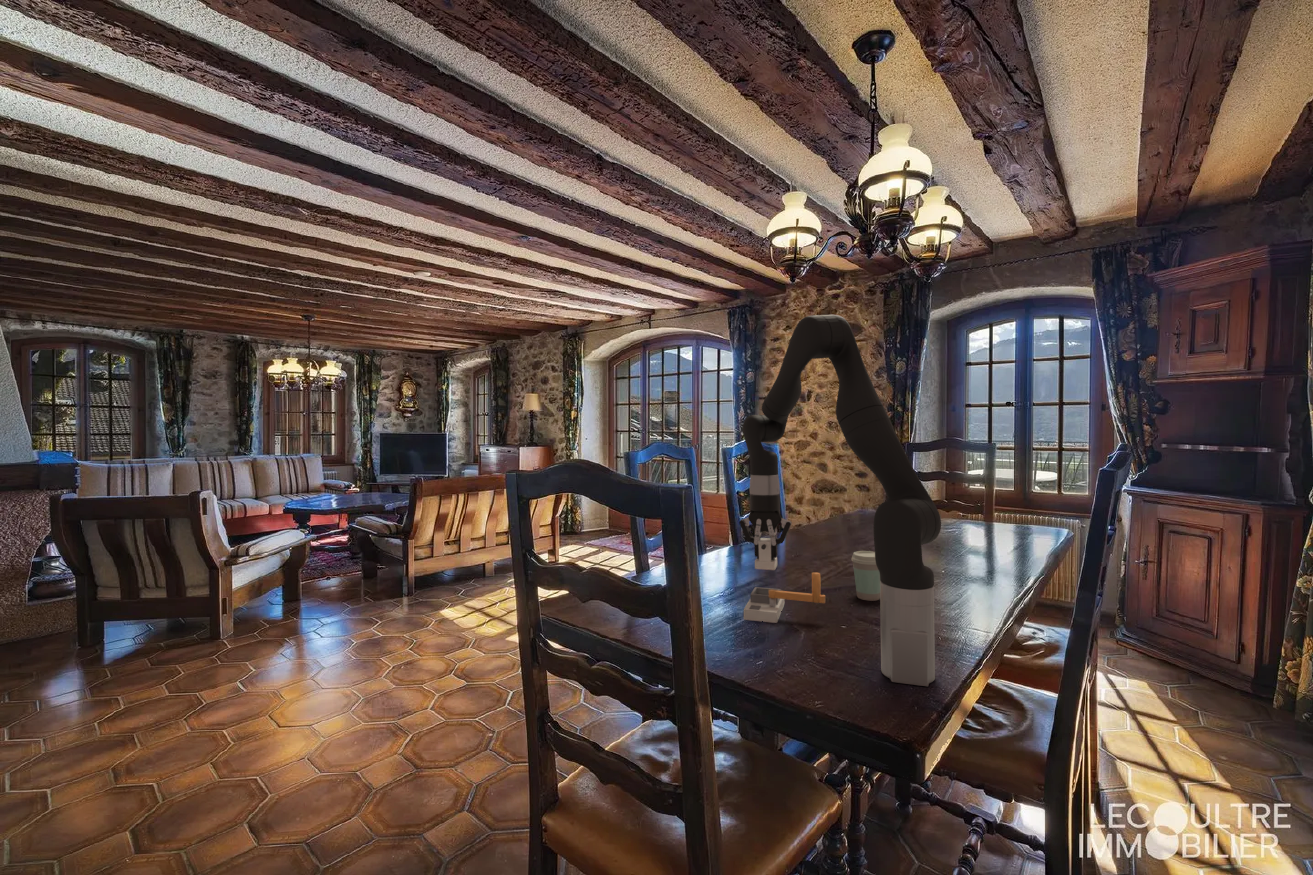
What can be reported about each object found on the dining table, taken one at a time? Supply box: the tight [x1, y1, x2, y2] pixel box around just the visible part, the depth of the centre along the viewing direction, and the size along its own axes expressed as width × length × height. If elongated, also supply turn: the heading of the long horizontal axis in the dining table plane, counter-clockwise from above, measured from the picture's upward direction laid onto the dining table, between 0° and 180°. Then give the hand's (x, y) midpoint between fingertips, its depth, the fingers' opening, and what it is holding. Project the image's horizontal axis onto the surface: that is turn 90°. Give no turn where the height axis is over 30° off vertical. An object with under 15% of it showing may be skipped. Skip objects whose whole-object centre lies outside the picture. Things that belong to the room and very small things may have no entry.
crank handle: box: [769, 571, 826, 604], centre depth 134 cm, size 14×2×7 cm, turn 67°
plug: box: [754, 537, 778, 571], centre depth 141 cm, size 6×5×7 cm
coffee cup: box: [850, 550, 880, 602], centre depth 150 cm, size 8×8×12 cm
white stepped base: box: [743, 586, 786, 624], centre depth 140 cm, size 15×8×4 cm, turn 160°
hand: (765, 558), depth 142 cm, fingers closed on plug, 3 cm apart
